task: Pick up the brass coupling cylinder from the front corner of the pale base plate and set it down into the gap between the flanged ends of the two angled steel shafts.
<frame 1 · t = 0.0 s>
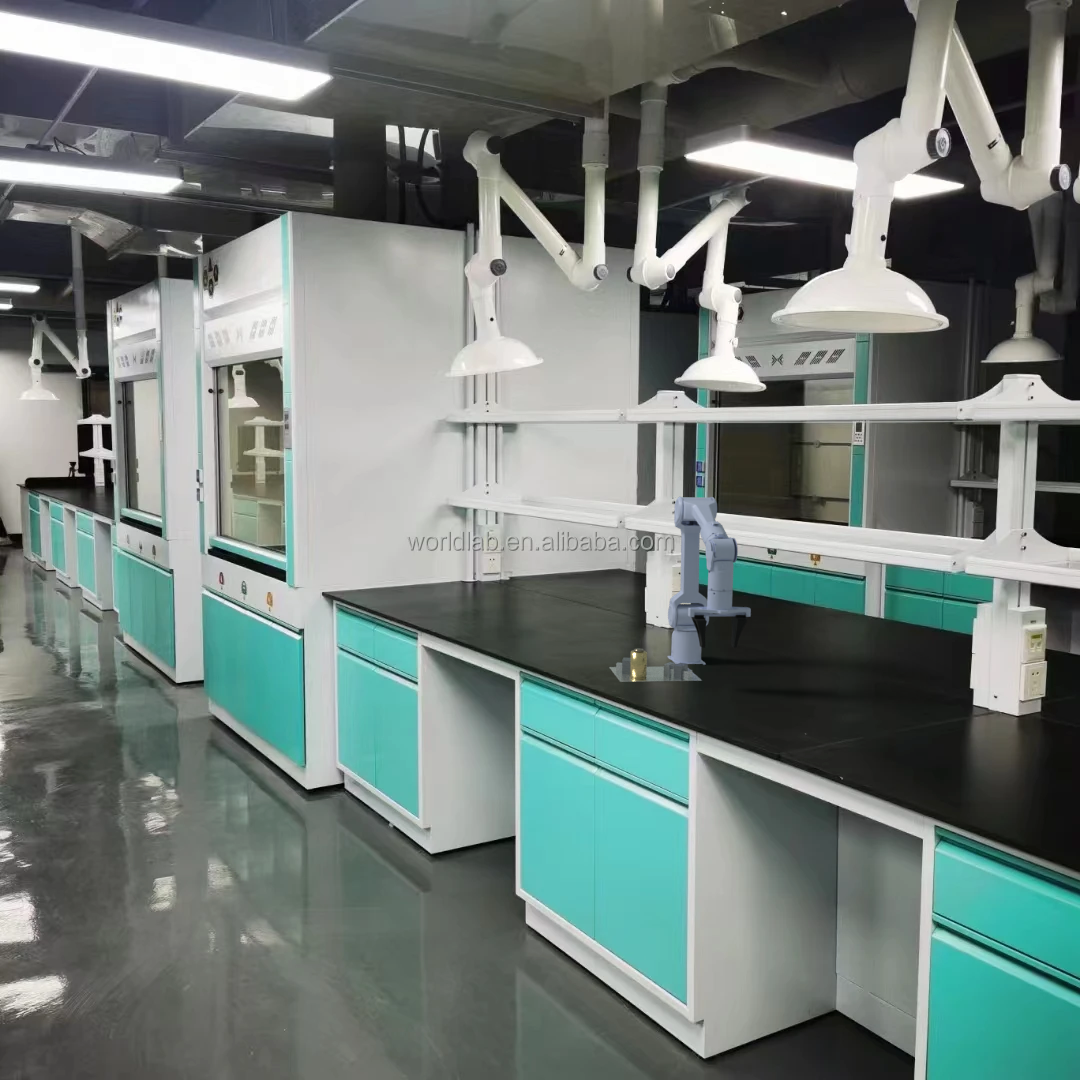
hand: (718, 646, 240), 10 cm above the worktop, fingers open, 7 cm apart
shaft rig: (654, 675, 252), on the worktop
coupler: (638, 678, 248), resting on shaft rig
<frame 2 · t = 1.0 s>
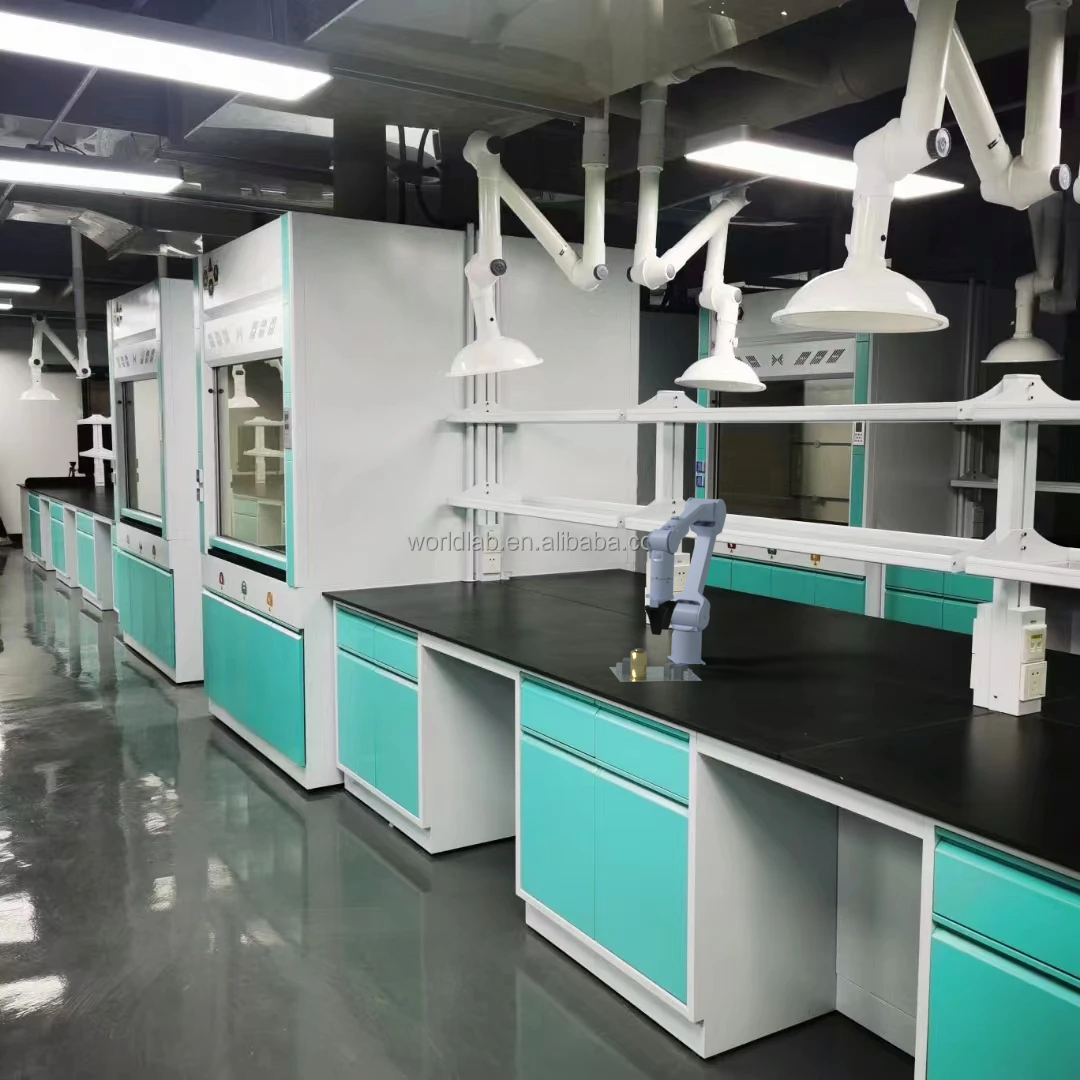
hand: (660, 631, 254), 10 cm above the worktop, fingers open, 7 cm apart
nothing on the worktop moved.
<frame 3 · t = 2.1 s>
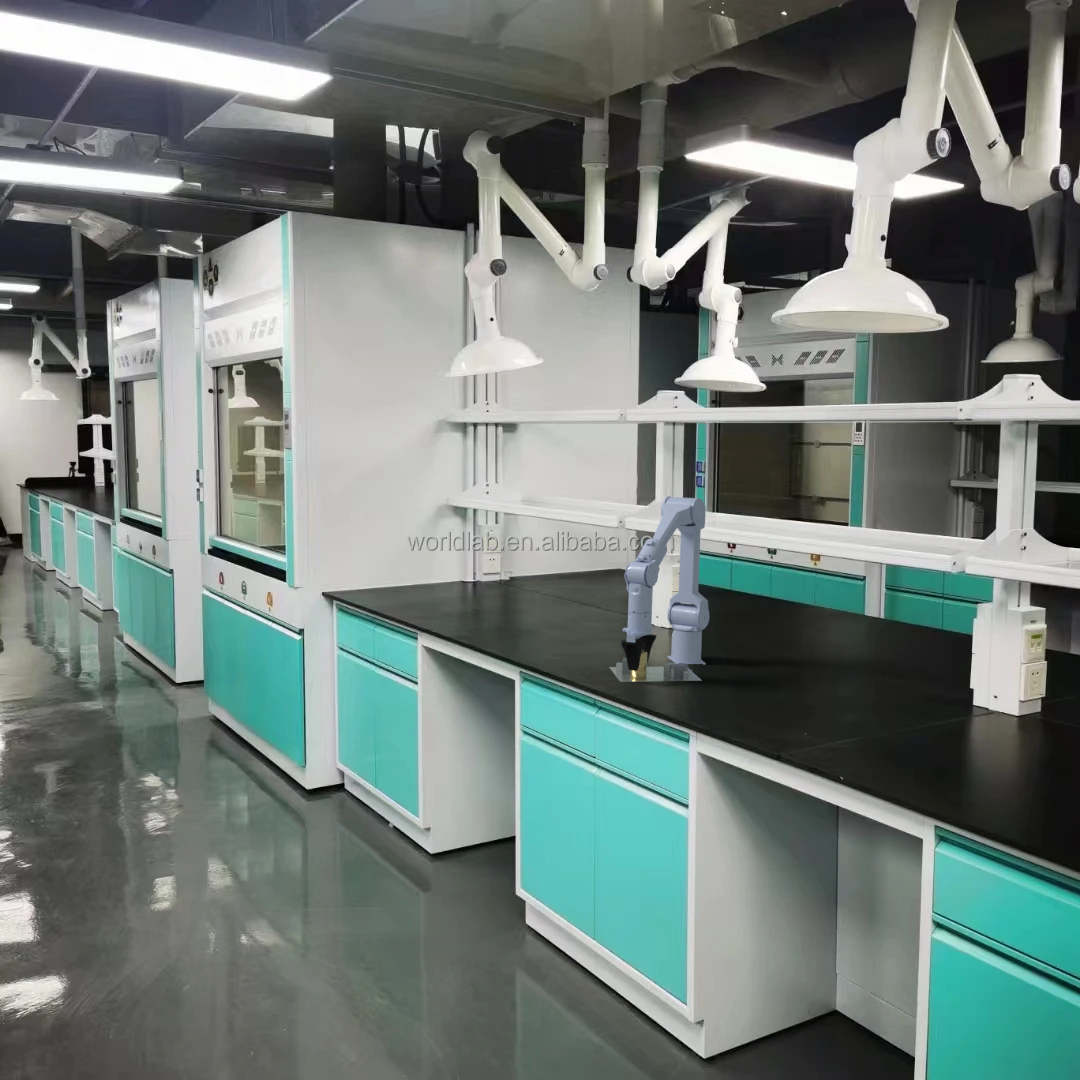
hand: (638, 667, 247), 3 cm above the worktop, fingers open, 7 cm apart
nothing on the worktop moved.
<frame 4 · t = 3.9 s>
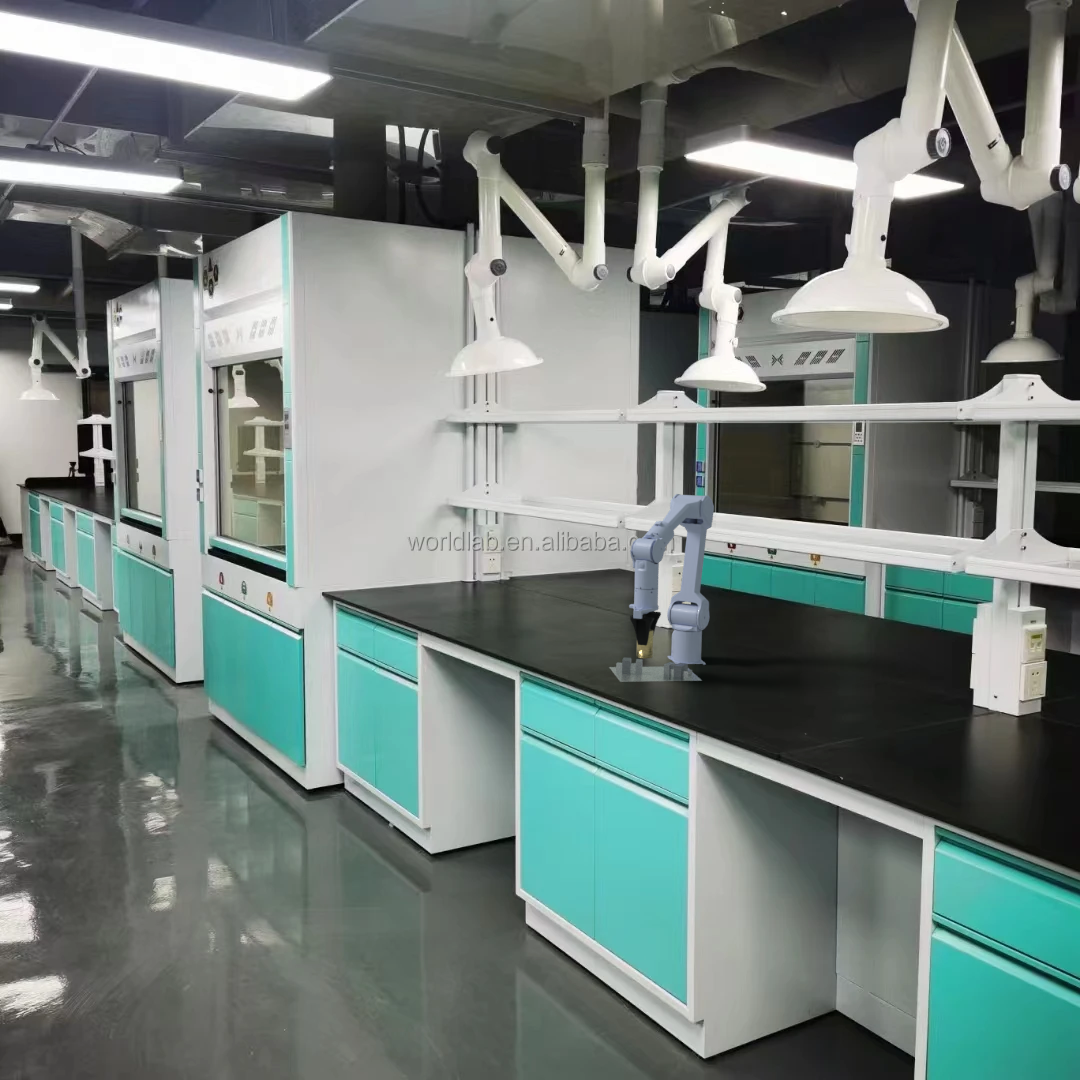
hand: (645, 643, 248), 9 cm above the worktop, fingers closed on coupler, 4 cm apart
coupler: (644, 656, 249), point 5 cm above the worktop, touching gripper
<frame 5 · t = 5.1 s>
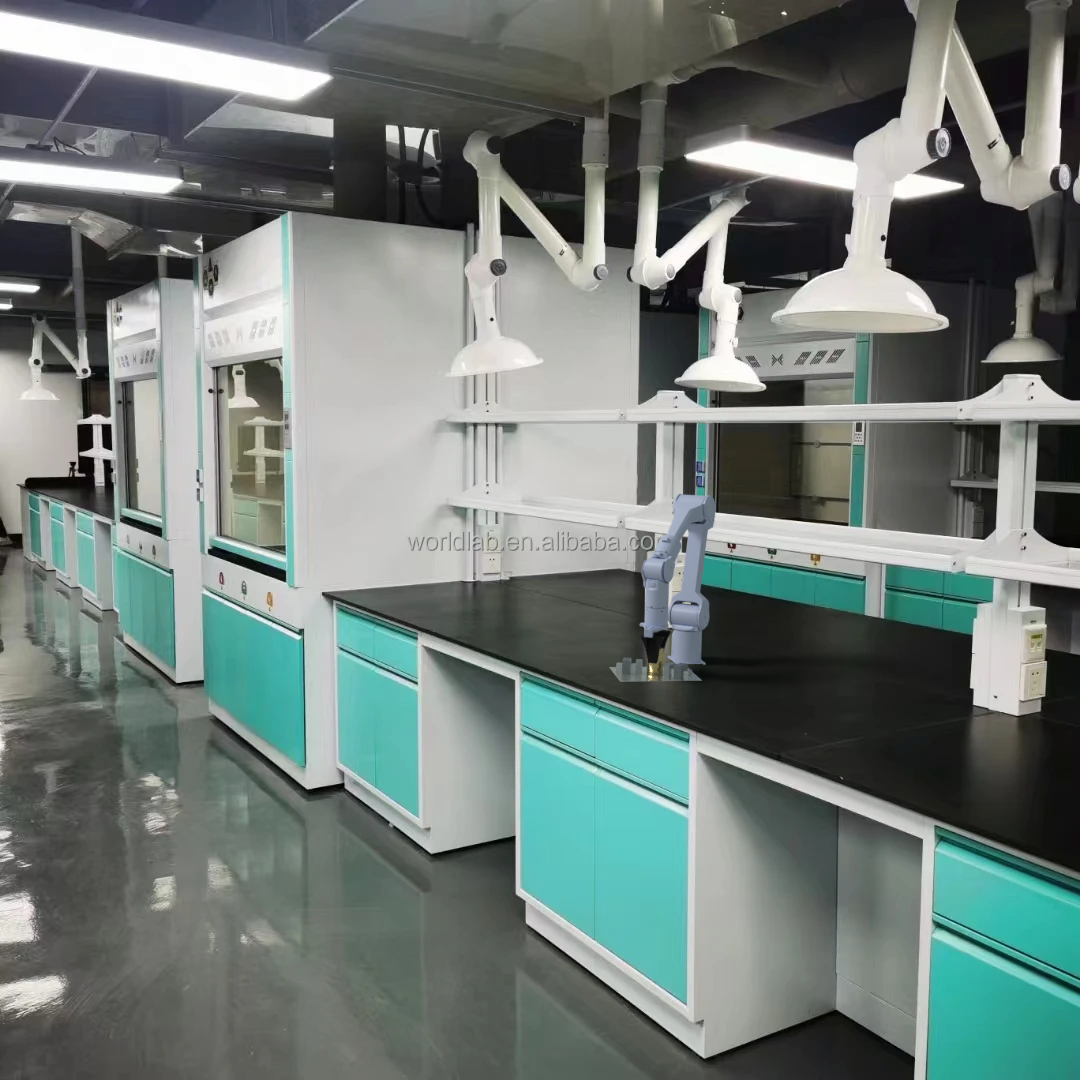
hand: (655, 661, 252), 4 cm above the worktop, fingers closed on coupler, 4 cm apart
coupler: (654, 674, 252), resting on shaft rig, touching gripper
when the fingers open (3 cm above the worktop, at t = 5.7 s): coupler stays where it is, resting on shaft rig.
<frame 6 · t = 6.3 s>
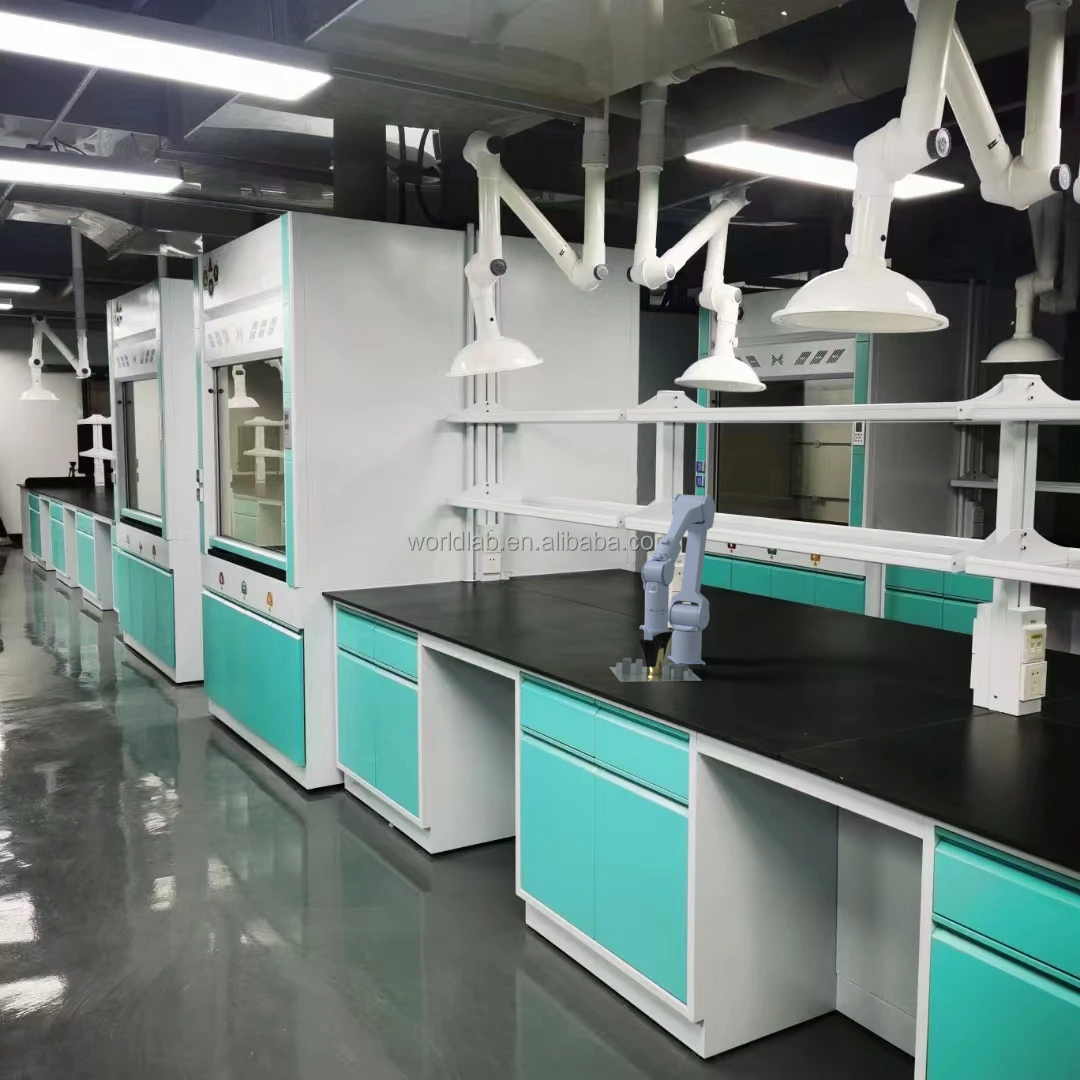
hand: (655, 663, 252), 3 cm above the worktop, fingers open, 7 cm apart
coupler: (654, 674, 252), resting on shaft rig
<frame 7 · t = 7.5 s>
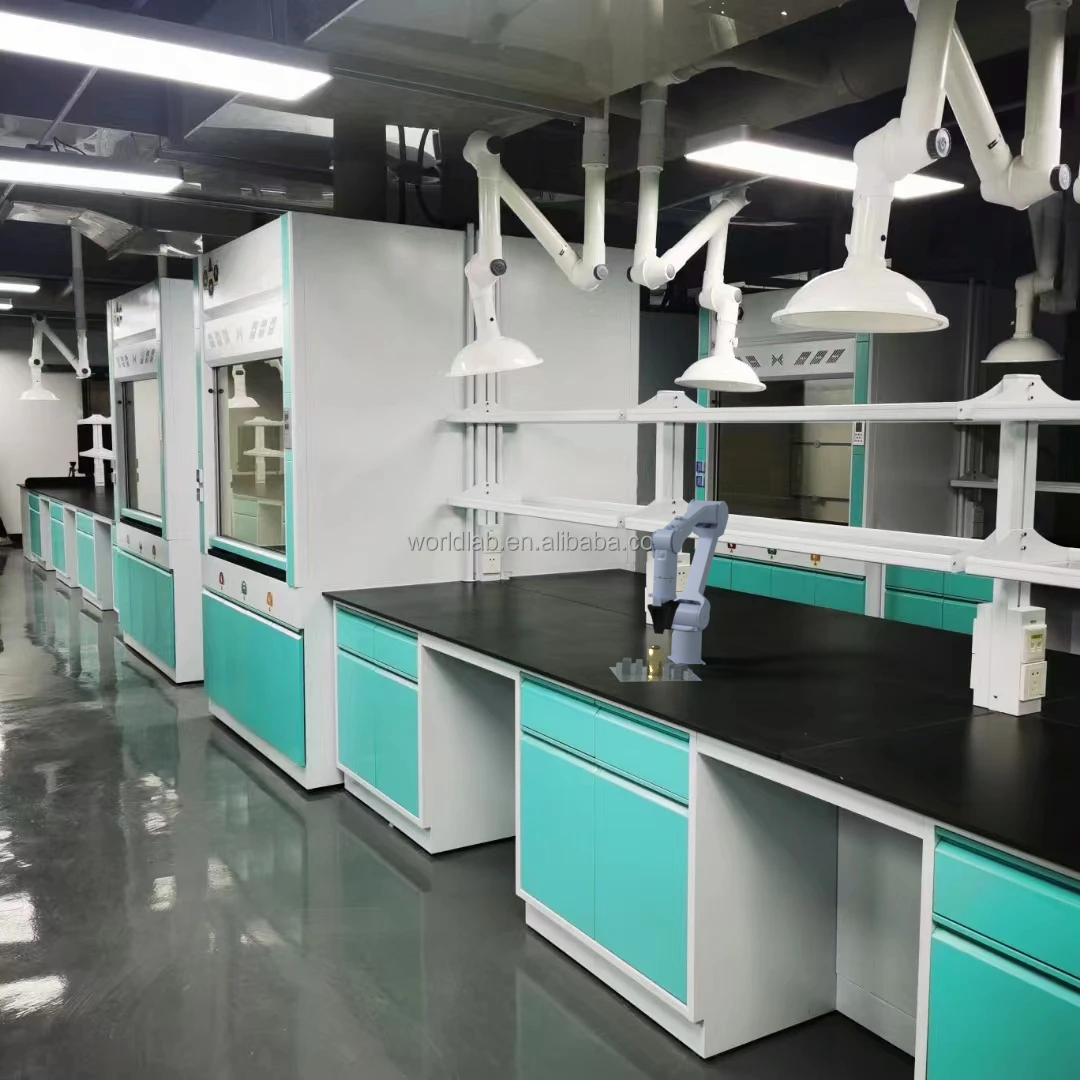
hand: (662, 631, 255), 10 cm above the worktop, fingers open, 7 cm apart
nothing on the worktop moved.
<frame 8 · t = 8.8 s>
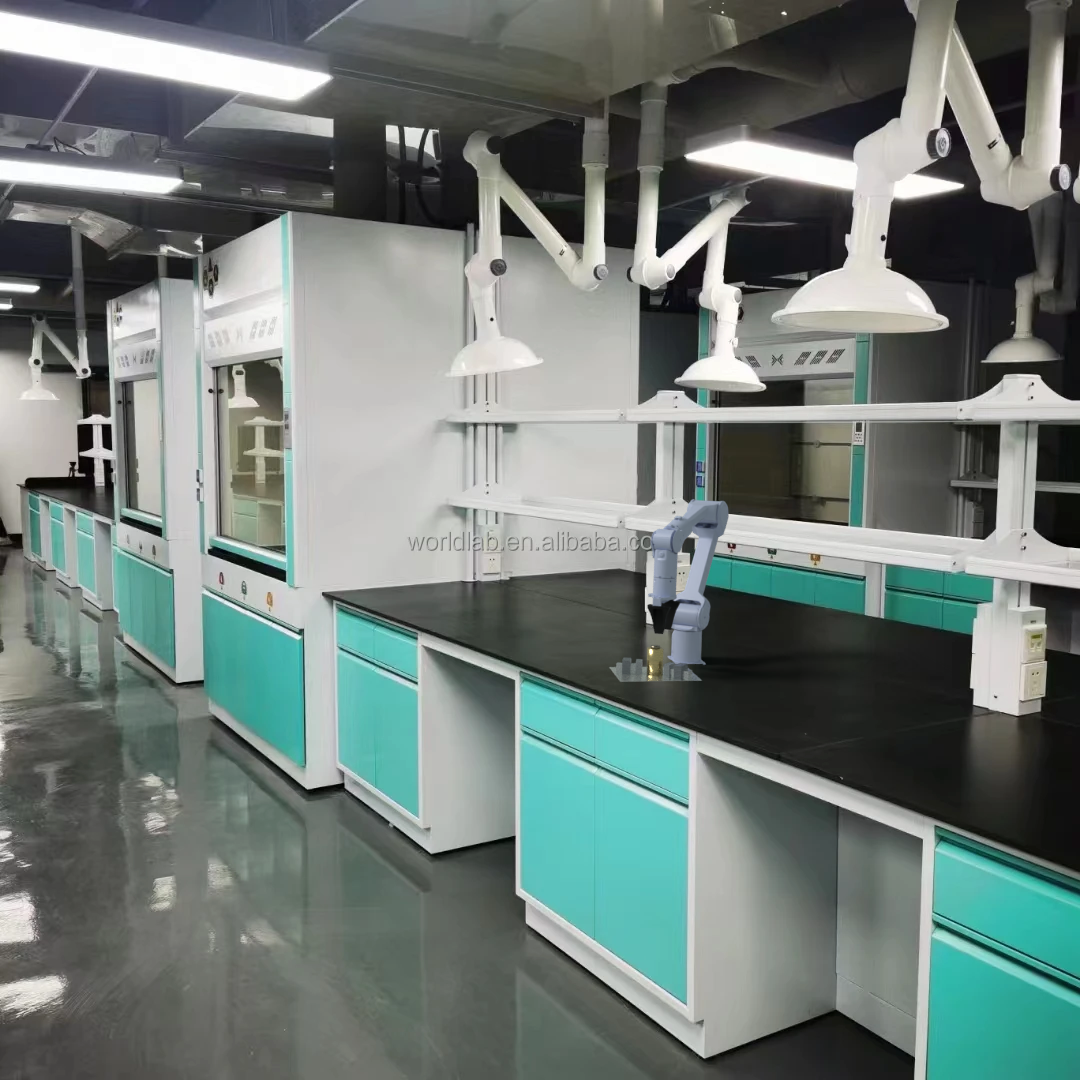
hand: (662, 631, 255), 10 cm above the worktop, fingers open, 7 cm apart
nothing on the worktop moved.
at the end: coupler 0.0 cm off-centre on the shaft rig, point 0.4 cm above the shaft rig's base; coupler tilted 0°; the gripper is holding nothing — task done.
